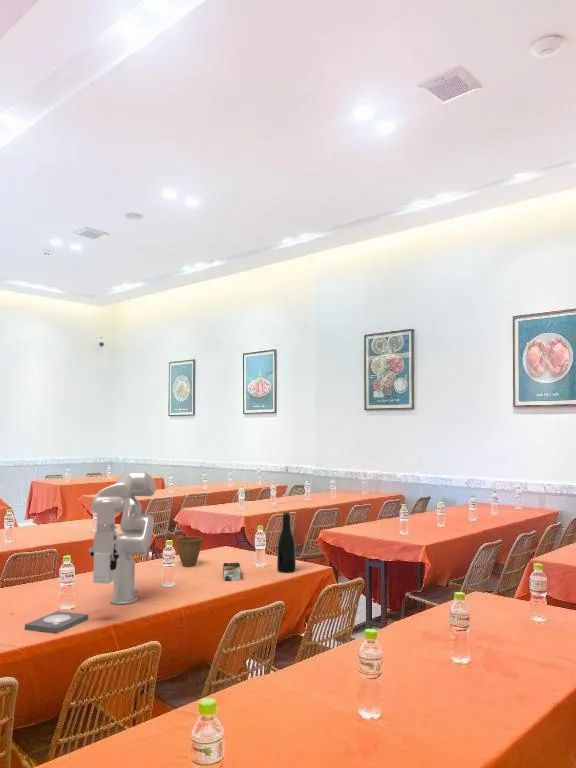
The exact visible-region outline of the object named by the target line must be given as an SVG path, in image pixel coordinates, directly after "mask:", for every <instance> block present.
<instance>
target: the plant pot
mask: <svg viewBox="0 0 576 768" xmlns="http://www.w3.org/2000/svg"><path fill="white" fill-rule="evenodd" d="M201 546H202V537H200V536H192V535H191V536H181V537H177V538H176V547H177V551H178V555H179V559H180V562H181V565H182V566H183V567H185V568H192V567H195V566H196V565H197V562H198V559H199V556H200V551H201Z"/></svg>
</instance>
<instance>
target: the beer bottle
mask: <svg viewBox="0 0 576 768" xmlns="http://www.w3.org/2000/svg"><path fill="white" fill-rule="evenodd" d="M276 562H277V563H276V566H277V567H276V568H277V571H278V572H279V573H293V571H294V572H295V571H296V565H297V563H296V541H295V538H294V535H293V532H292V528H291V515H290V512H283V514H282V528H281V532H280V534H279V538H278V541H277V561H276Z"/></svg>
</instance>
